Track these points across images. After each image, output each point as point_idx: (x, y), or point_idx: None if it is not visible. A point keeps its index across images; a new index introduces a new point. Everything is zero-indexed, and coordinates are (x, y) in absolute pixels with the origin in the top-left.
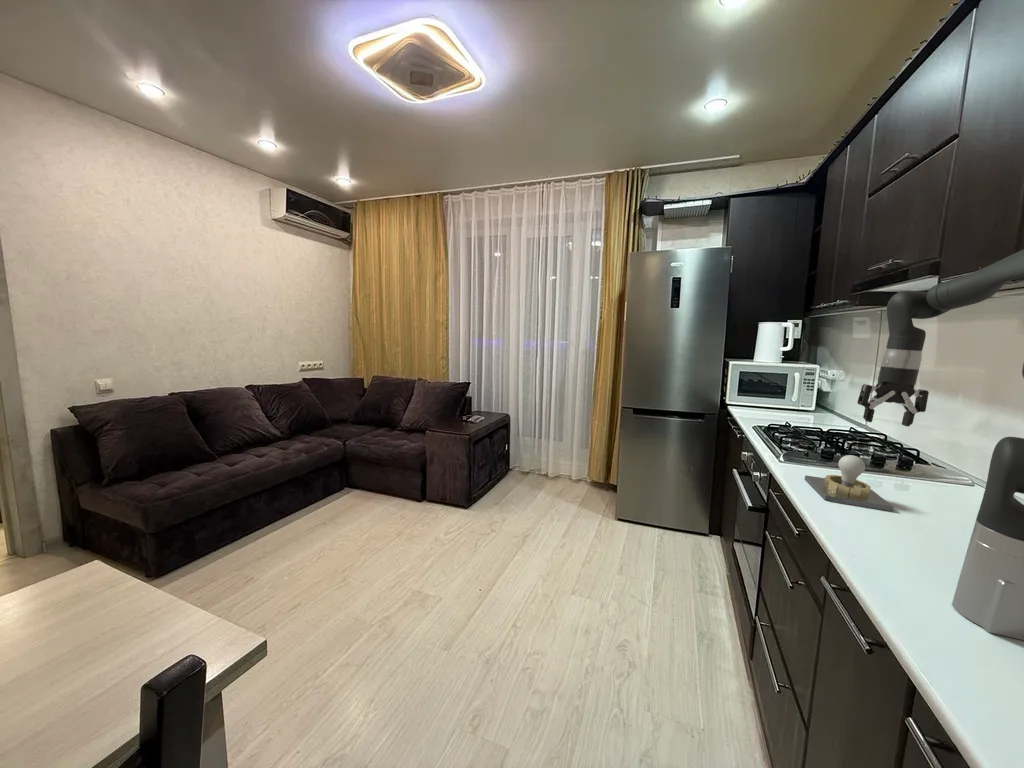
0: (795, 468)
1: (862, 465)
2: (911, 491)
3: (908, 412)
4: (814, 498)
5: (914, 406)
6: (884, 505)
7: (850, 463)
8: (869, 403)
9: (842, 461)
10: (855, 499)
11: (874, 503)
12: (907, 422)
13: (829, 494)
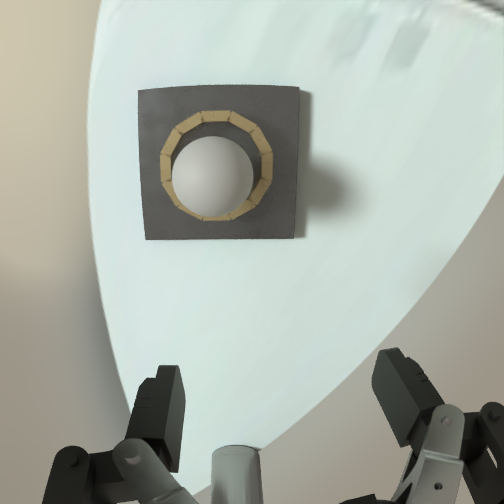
0: (152, 3)
1: (232, 210)
2: (416, 69)
3: (413, 435)
4: (128, 233)
5: (487, 430)
6: (274, 238)
7: (192, 211)
8: (140, 481)
9: (174, 190)
10: (213, 231)
11: (252, 238)
12: (379, 401)
13: (157, 226)
